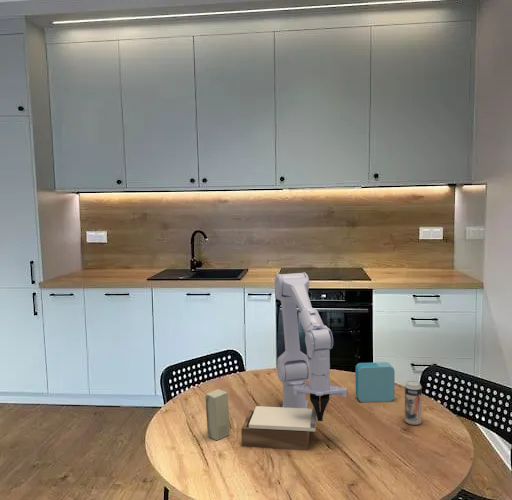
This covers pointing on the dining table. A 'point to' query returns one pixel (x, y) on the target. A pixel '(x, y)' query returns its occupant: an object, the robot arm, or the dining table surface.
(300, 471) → the dining table surface
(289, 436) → the walnut box
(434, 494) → the dining table surface
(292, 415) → the lid
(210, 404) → the box
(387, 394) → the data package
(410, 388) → the beer can
